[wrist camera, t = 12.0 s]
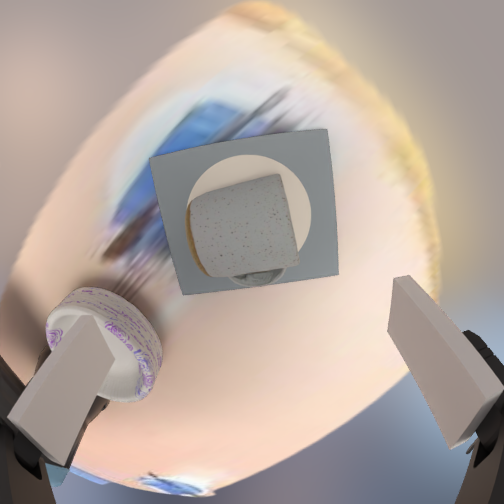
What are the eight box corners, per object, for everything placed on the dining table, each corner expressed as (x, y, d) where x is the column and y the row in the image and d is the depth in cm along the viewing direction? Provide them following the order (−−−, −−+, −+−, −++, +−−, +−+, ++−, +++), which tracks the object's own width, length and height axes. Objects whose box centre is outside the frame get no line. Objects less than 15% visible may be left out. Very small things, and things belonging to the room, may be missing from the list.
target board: (185, 288, 32) (182, 296, 30) (154, 157, 26) (148, 158, 24) (335, 268, 30) (339, 275, 29) (323, 129, 25) (327, 128, 23)
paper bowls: (55, 293, 33) (25, 323, 25) (129, 258, 30) (98, 292, 23) (111, 371, 38) (93, 406, 30) (190, 354, 35) (178, 398, 28)
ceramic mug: (192, 191, 26) (169, 212, 18) (277, 167, 25) (287, 179, 18) (225, 287, 30) (217, 333, 22) (301, 269, 29) (315, 312, 22)
